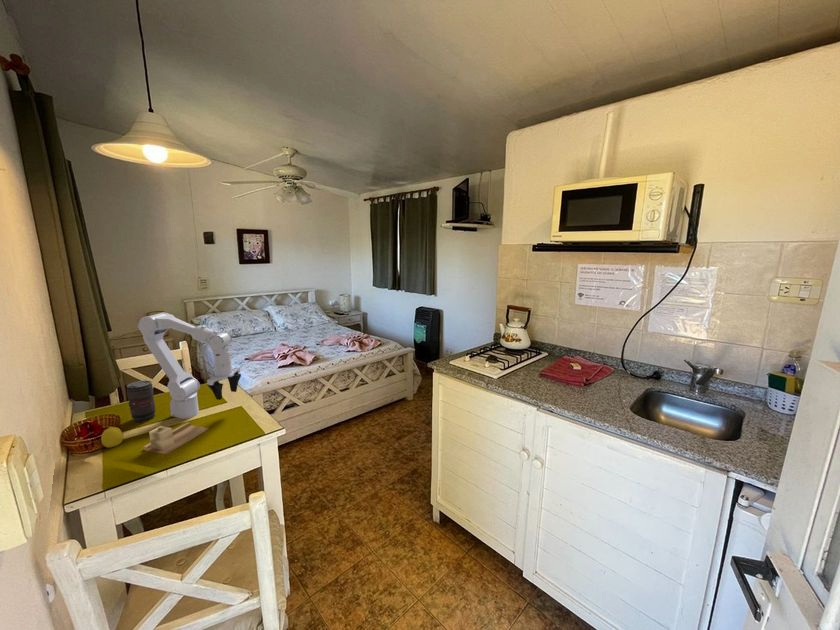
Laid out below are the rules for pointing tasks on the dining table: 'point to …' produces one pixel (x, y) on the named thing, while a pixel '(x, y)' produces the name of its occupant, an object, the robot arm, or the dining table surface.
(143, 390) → the camera lens
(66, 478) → the dining table surface
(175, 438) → the board
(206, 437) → the dining table surface
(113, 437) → the lemon
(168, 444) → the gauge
